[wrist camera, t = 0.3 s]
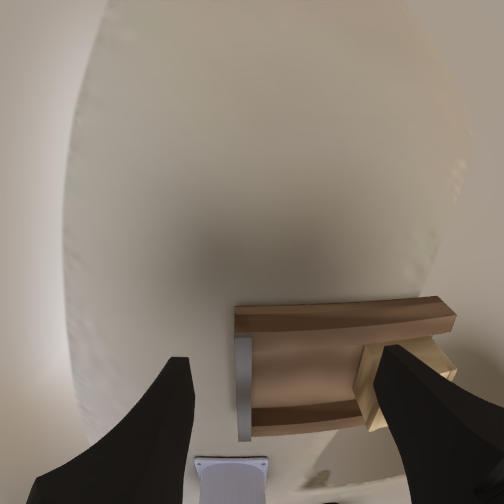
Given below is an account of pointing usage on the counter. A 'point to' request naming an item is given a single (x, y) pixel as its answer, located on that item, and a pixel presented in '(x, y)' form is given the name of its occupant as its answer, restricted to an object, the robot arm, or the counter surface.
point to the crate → (369, 364)
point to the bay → (316, 359)
